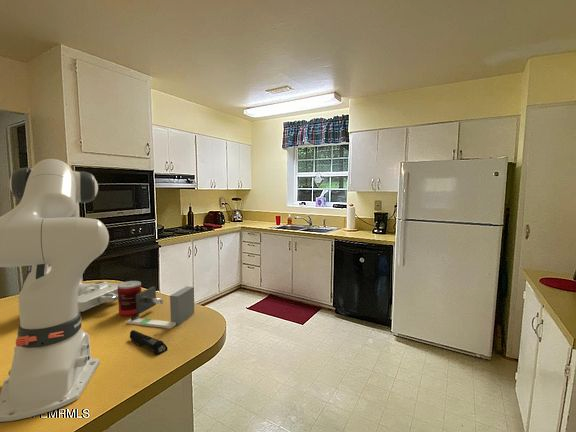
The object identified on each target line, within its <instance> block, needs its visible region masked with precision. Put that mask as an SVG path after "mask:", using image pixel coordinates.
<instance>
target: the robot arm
mask: <svg viewBox="0 0 576 432" xmlns="http://www.w3.org/2000/svg"><path fill="white" fill-rule="evenodd" d="M9 190H10V191H11V193H12V196H13V197H15V198H16V199H17V200H18V201H20V202H19V203H18V204H17V205H16V206H15V207H13V208H12V209H11V210H10V211H8V212H5V214H3V215H1V216H0V268H18V267H26V270H25V275H24V278H23V281H22V284H21V286H22V288H21V290H20V292H19V294H18V299H17V300H18V314H19V325H18V327H17V333H16V339H15V346H14V347H13V357H12V363H11V367H10V369H9V371H8V376H9V377H7V378H6V379H4V381H3V383H2V387H1V390H0V422H3V423H4V422H13V421H17V420H22V419H27V418H32V417H35V416H39V415H42V414H46V413H48V412H49V413H50V412H52V411H55V410H57V409H60V408H63V407H64V406H67V405H69V404H71V403H73V402H75V401H76V400H78V399H79V398H80V396H81V394H82V393H83V391H84V390H85V388H86V386H87V385H88V384H89V381H90V380H91V378H92V377H93V374H94V373H95V372H96V370H97V368H98V367H99V365H100V360H99V358H96V357H92V349H91V341H90V334H88V333H87V331H84V330H83V329H82V316H81V313H82V312H85V311H87V310H90V309H92V308H94V307H96V306H99V305H101V304H105V303H114V302H115V301H118V285H119V284H120V283H116V282H107V281H99V282H93V283H91V282H89V283H84V278H83V277H84V276H83V274H84V273H85V271H86V269H87V268H88V267H89V265H90V264H91V263H92V262H93V261H95V260H96V259H97V258H98V257H100V256H101V255H103V253H104V252H105V250H106V249H107V247H108V245H109V241H110V235H109V231H108V228H107V227H106V225H105V224H104V223H103V222H102V221H101V220H99V219H97V218H90V217H89V218H88V217H82V216H80V203H81V204H87V203H91V202H92V201H94V200H96V196H97V195H98V191H99V184H98V181H97V180H96V178H95V175H93V173H90V172H87V171H82V170H81V171H77V170H76V171H75V170H73V169H72V167H71V166H69V164H67V163H66V162H64V161H62V160H60V159H57V158H46V159H42V160H40V161H38V162H37V163H35V165H34V166H33V167H32V168H31V167H28V166H27V167H21V168H20V167H19V168H17V169H16V170H14V171H13V172H12V174H11V176H10V179H9Z"/></svg>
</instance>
